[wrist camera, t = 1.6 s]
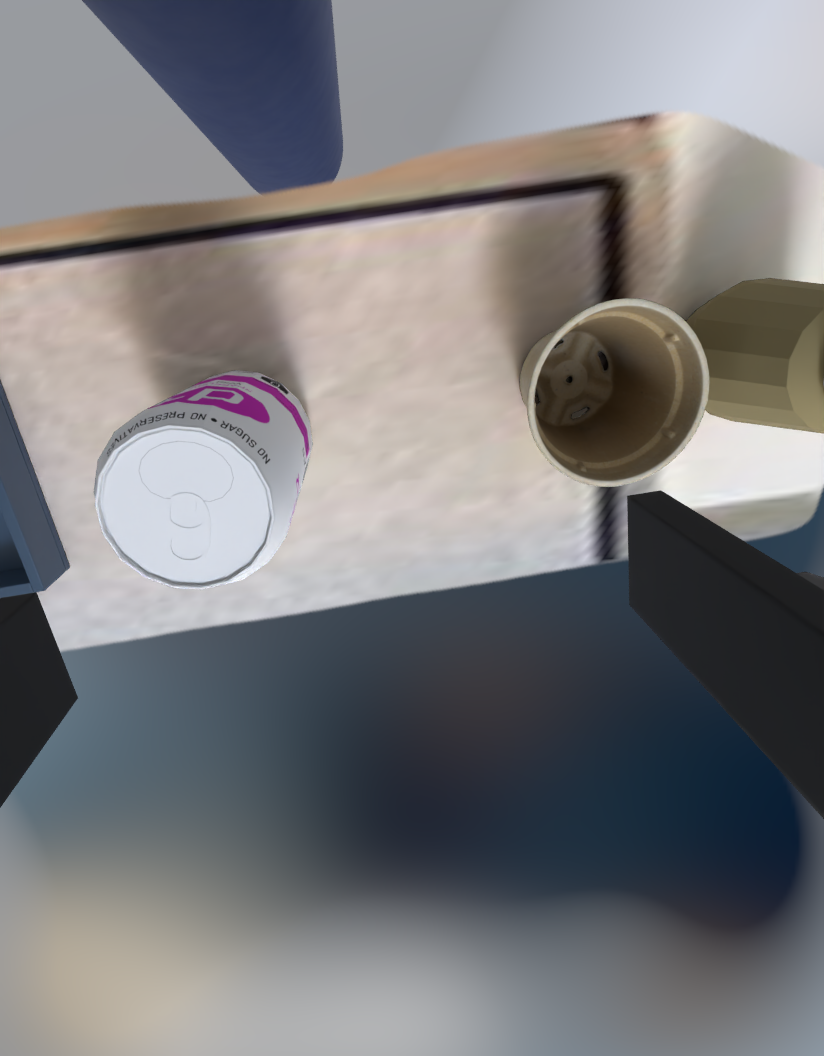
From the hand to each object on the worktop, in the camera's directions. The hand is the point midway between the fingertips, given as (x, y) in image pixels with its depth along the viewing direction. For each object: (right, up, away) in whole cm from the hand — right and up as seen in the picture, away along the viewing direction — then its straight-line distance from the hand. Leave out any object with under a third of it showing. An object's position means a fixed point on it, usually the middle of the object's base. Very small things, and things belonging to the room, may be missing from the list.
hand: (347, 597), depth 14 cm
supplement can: (-9, +7, +25) cm, 28 cm away
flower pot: (+11, +11, +26) cm, 30 cm away
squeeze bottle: (+21, +13, +26) cm, 36 cm away
